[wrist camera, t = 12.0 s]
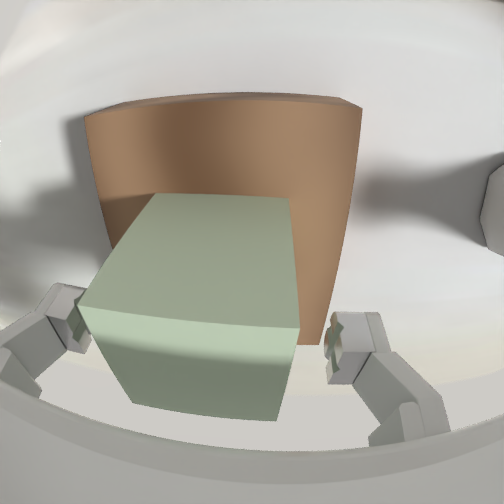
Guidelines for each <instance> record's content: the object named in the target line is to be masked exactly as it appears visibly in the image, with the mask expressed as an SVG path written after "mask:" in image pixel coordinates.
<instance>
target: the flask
mask: <svg viewBox="0 0 504 504" xmlns="http://www.w3.org/2000/svg"><path fill="white" fill-rule="evenodd" d="M480 222H481V226H482V229H483V232H484V236H485V239H486V243H487V247H488V249H489V250H491V251H493V252H495V253H497V254H500V255H502V256H504V164H503V165H502V166H501V167H499V168H498V169H497V170H496V171H494V172H493V173H492V174H491V175H489V180H488V185H487V190H486V195H485V199H484V203H483V208H482V212H481V215H480Z"/></svg>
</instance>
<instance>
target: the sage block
mask: <svg viewBox="0 0 504 504" xmlns="http://www.w3.org/2000/svg"><path fill="white" fill-rule="evenodd" d="M77 306H78V308H79V310H80V312H81V314H82V316H83V318H84V320H85V322H86V324H87V326H88V328H89V330H90V332H91V334H92V336H93V338H94V340H95V342H96V343H97V345H98V347H99V349H100V351H101V353H102V354H103V356H104V358H105V360H106V361H107V363H108V365H109V366H110V368H111V370H112V371H113V373H114V375H115V376H116V378H117V380H118V381H119V383H120V384H121V386H122V388H123V389H124V391H125V392H126V394H127V395H128V397H129V398H130V400H131V401H132V403H135V404H139V405H144V406H149V407H154V408H159V409H164V410H170V411H176V412H182V413H189V414H196V415H203V416H211V417H220V418H230V419H243V420H259V421H277V417H278V414H279V410H280V406H281V403H282V399H283V395H284V392H285V388H286V384H287V380H288V376H289V372H290V369H291V365H292V361H293V356H294V352H295V348H296V344H297V340H298V335H299V331H300V320H299V306H298V293H297V280H296V268H295V257H294V246H293V236H292V226H291V216H290V207H289V198H277V197H261V196H242V195H218V194H181V193H155V195H154V196H153V197H152V198H151V200H150V201H149V202H148V203H147V205H146V206H145V207H144V209H143V210H142V211H141V212H140V214H139V215H138V216H137V218H136V219H135V220H134V222H133V223H132V224H131V226H130V227H129V228H128V230H127V231H126V233H125V234H124V235H123V237H122V238H121V239H120V241H119V242H118V244H117V245H116V246H115V248H114V249H113V251H112V252H111V254H110V255H109V256H108V258H107V259H106V261H105V262H104V264H103V265H102V267H101V268H100V270H99V271H98V273H97V274H96V276H95V277H94V279H93V280H92V282H91V284H90V285H89V287H88V288H87V290H86V291H85V293H84V295H83V296H82V298H81V299H80V301H79V303H78V304H77Z"/></svg>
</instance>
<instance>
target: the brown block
mask: <svg viewBox="0 0 504 504" xmlns="http://www.w3.org/2000/svg"><path fill="white" fill-rule="evenodd" d="M362 109H363V108H360V107H358V106H356V105H354V104H352V103H350V102H348V101H346V100H344V99H341V98H338V97H329V96H318V95H306V94H290V93H262V92H235V93H206V94H191V95H178V96H168V97H159V98H151V99H143V100H136V101H130V102H124V103H121V104H118V105H115V106H112V107H109V108H106V109H104V110H101V111H98V112H96V113H93V114H90V115H88V116H85V117H84V121H85V128H86V134H87V141H88V147H89V152H90V158H91V163H92V168H93V173H94V178H95V183H96V187H97V192H98V196H99V200H100V205H101V209H102V213H103V217H104V220H105V224H106V228H107V232H108V235H109V239H110V242H111V246H112V249H114V248H115V246H116V245H117V244H118V242H119V241H120V239H121V238H122V237H123V235H124V234H125V233H126V231H127V230H128V228H129V227H130V226H131V224H132V223H133V222H134V220H135V219H136V218H137V216H138V215H139V214H140V212H141V211H142V210H143V209H144V207H145V206H146V205H147V203H148V202H149V201H150V200H151V198H152V197H153V196H154V195H155V193H181V194H218V195H242V196H261V197H277V198H289V207H290V216H291V226H292V236H293V246H294V257H295V268H296V280H297V293H298V306H299V320H300V331H299V335H298V340H297V344H296V345H319V343H320V339H321V336H322V332H323V328H324V324H325V320H326V316H327V313H328V309H329V304H330V300H331V296H332V292H333V288H334V283H335V279H336V274H337V270H338V265H339V261H340V256H341V251H342V246H343V241H344V236H345V230H346V225H347V219H348V214H349V208H350V202H351V196H352V190H353V183H354V176H355V169H356V162H357V155H358V147H359V138H360V129H361V119H362Z"/></svg>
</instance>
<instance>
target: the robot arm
mask: <svg viewBox="0 0 504 504" xmlns="http://www.w3.org/2000/svg"><path fill="white" fill-rule="evenodd" d="M86 290H87V288H83V287H77V286H72V285H66V284H61V283H56V284H54V285H53V286H52V287H51V289H50V290H49V291H48V293H47V294H46V296H45V297H44V298H43V300H42V301H41V303H40V304H39V306H38V307H37V309H36V310H35V312H34V313H33V312H30V313H29V314H27V315H25V316H24V317H22V318H21V319H19V320H17V321H16V322H14V323H13V324H11V325H9V326H8V327H6V328H5V329H3V330H2V331H0V504H504V414H502V415H499V416H497V417H494V418H491V419H488V420H485V421H483V422H480V423H477V424H473V425H471V426H467V427H464V428H461V429H457V430H453V431H451V430H450V426H449V422H448V418H447V414H446V410H445V407H444V403H443V400H442V397H441V395H440V394H439V393H438V392H437V391H436V390H435V389H433V387H432V386H431V385H430V384H429V383H427V382H426V381H425V380H424V379H423V378H422V377H421V376H420V375H419V374H418V373H417V372H416V371H415V370H414V369H413V368H412V367H411V366H410V365H409V364H408V363H407V362H406V361H405V360H404V359H403V358H402V357H400V356H399V355H398V354H397V353H396V352H391V348H390V345H389V342H388V338H387V335H386V332H385V328H384V325H383V322H382V319H381V316H380V314H379V313H378V312H333V314H332V316H331V319H330V322H331V326H330V327H329V328H328V329H327V331H326V334H325V340H324V354H325V357H326V358H327V359H328V360H329V361H328V364H327V366H326V373H327V382H328V384H353V385H352V386H353V387H354V389H355V390H356V392H357V393H358V394H359V396H360V397H361V398H362V399H363V401H364V402H365V404H366V405H367V406H368V408H369V409H370V410H371V412H372V413H373V414H374V416H375V417H376V418H377V420H378V421H379V422H380V424H381V425H380V426H379V427H378V428H377V429H376V430H375V431H374V432H372V433H371V435H370V436H369V437H368V439H369V447H364V448H355V449H344V450H328V451H260V450H244V449H233V448H223V447H214V446H206V445H199V444H193V443H187V442H181V441H175V440H170V439H164V438H159V437H156V436H151V435H147V434H142V433H138V432H134V431H130V430H126V429H123V428H119V427H116V426H112V425H109V424H105V423H102V422H99V421H96V420H93V419H90V418H87V417H84V416H81V415H78V414H76V413H73V412H70V411H68V410H65V409H63V408H60V407H58V406H55V405H53V404H50V403H48V402H46V401H43V400H41V399H39V396H40V394H41V392H42V390H41V387H40V386H39V385H38V384H37V382H36V381H35V379H36V378H37V377H38V376H39V375H40V374H41V373H42V372H44V371H45V370H46V369H47V368H48V367H49V366H50V365H52V364H53V363H54V362H55V361H56V360H57V359H58V358H59V357H61V356H62V355H63V354H64V353H65V352H66V351H67V350H69V351H73V352H77V353H82V354H85V353H86V351H87V349H88V347H89V345H90V343H91V341H92V339H91V332H90V330H89V328H88V326H87V324H86V322H85V320H84V318H83V316H82V314H81V312H80V310H79V308H78V306H77V304H78V303H79V301H80V299H81V298H82V296H83V295H84V293H85V291H86Z"/></svg>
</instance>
